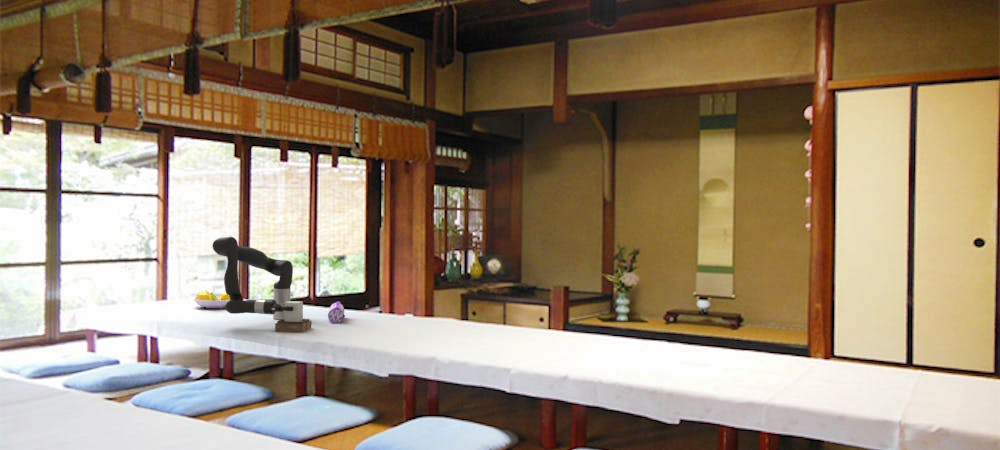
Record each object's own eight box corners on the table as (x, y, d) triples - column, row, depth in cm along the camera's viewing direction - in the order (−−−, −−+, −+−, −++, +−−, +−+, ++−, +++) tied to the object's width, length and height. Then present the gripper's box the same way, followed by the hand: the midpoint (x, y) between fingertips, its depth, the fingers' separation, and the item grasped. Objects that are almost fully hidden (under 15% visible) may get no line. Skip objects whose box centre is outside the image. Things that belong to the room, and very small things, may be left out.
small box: (303, 321, 368) (303, 301, 368) (299, 323, 363) (299, 302, 362) (288, 321, 369) (288, 300, 369) (283, 322, 363) (284, 302, 363)
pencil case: (344, 323, 390) (345, 306, 390) (327, 324, 388) (327, 306, 388) (344, 317, 412) (344, 301, 411) (327, 317, 409) (327, 301, 409)
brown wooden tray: (285, 327, 373) (285, 317, 373) (311, 328, 372) (311, 318, 372) (275, 331, 359) (275, 321, 359) (301, 332, 358) (302, 322, 358)
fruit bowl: (208, 303, 456) (208, 286, 455) (247, 305, 452) (247, 288, 452) (182, 309, 428) (183, 291, 428) (224, 311, 424) (225, 292, 424)
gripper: (260, 301, 359) (291, 302, 358) (271, 297, 374) (301, 298, 372) (259, 315, 359) (290, 317, 358) (270, 312, 374) (300, 313, 373)
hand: (296, 307), depth 365 cm, fingers open, 8 cm apart
